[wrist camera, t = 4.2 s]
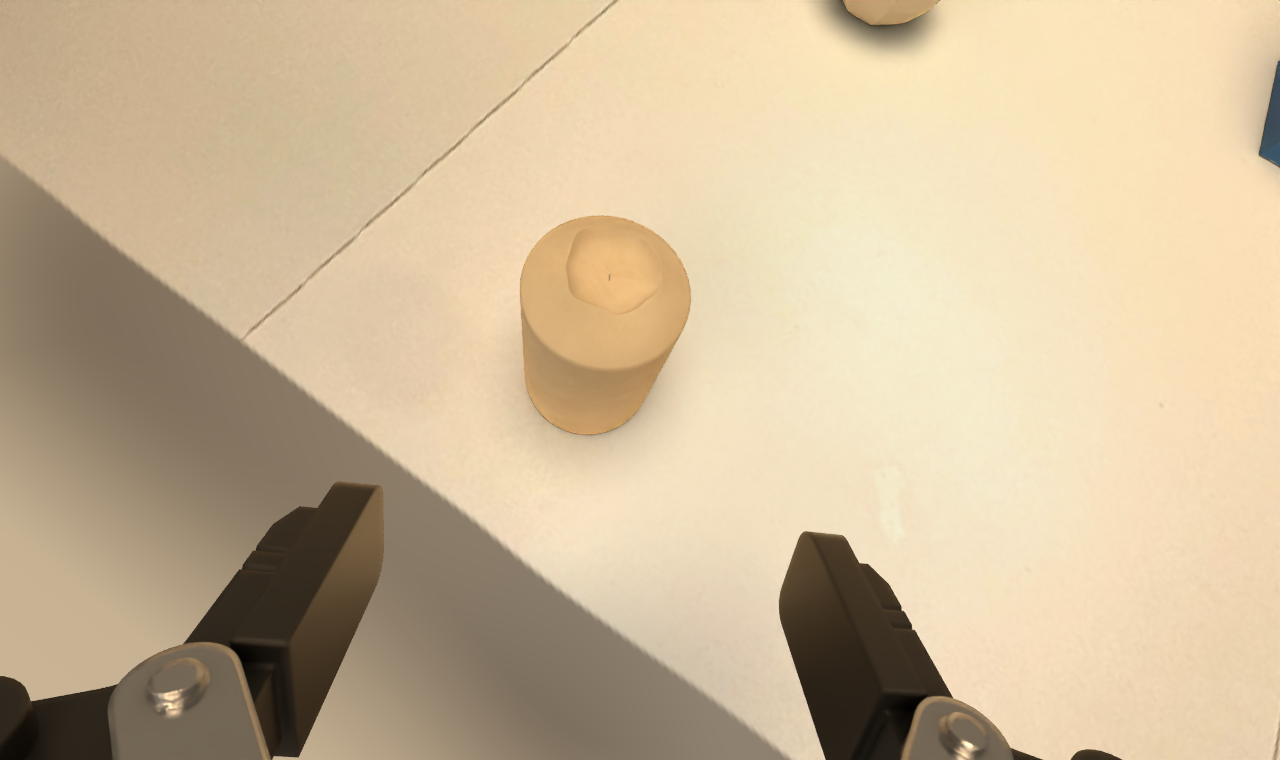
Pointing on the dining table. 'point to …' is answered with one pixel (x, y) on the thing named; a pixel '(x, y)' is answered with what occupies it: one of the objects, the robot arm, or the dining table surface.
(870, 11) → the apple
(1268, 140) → the milk carton
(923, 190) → the dining table surface
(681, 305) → the candle
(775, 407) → the dining table surface
